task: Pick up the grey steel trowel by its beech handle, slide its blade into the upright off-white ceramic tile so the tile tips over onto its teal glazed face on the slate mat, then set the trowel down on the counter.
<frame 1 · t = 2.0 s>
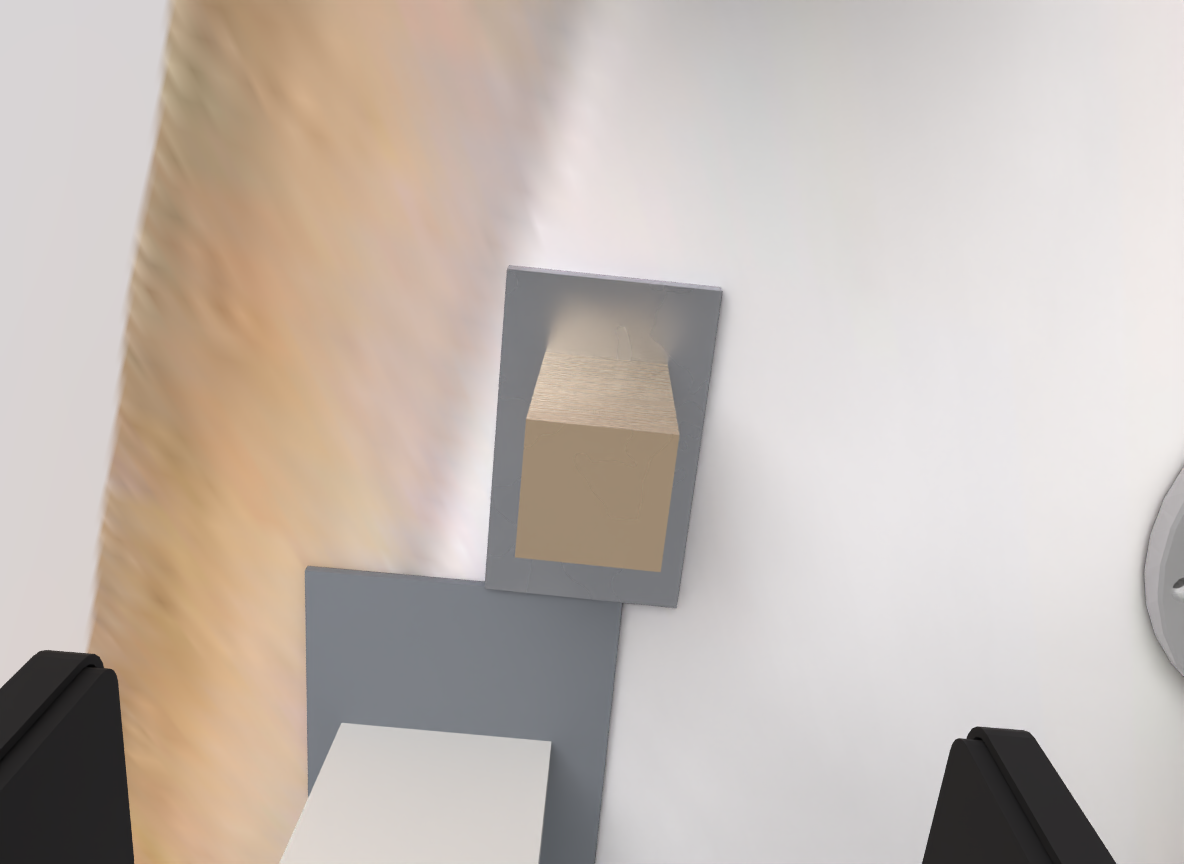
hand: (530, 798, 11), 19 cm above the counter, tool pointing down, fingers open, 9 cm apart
tile: (445, 752, 33), resting on mat
trowel: (600, 407, 29), on the counter
mat: (458, 738, 33), on the counter
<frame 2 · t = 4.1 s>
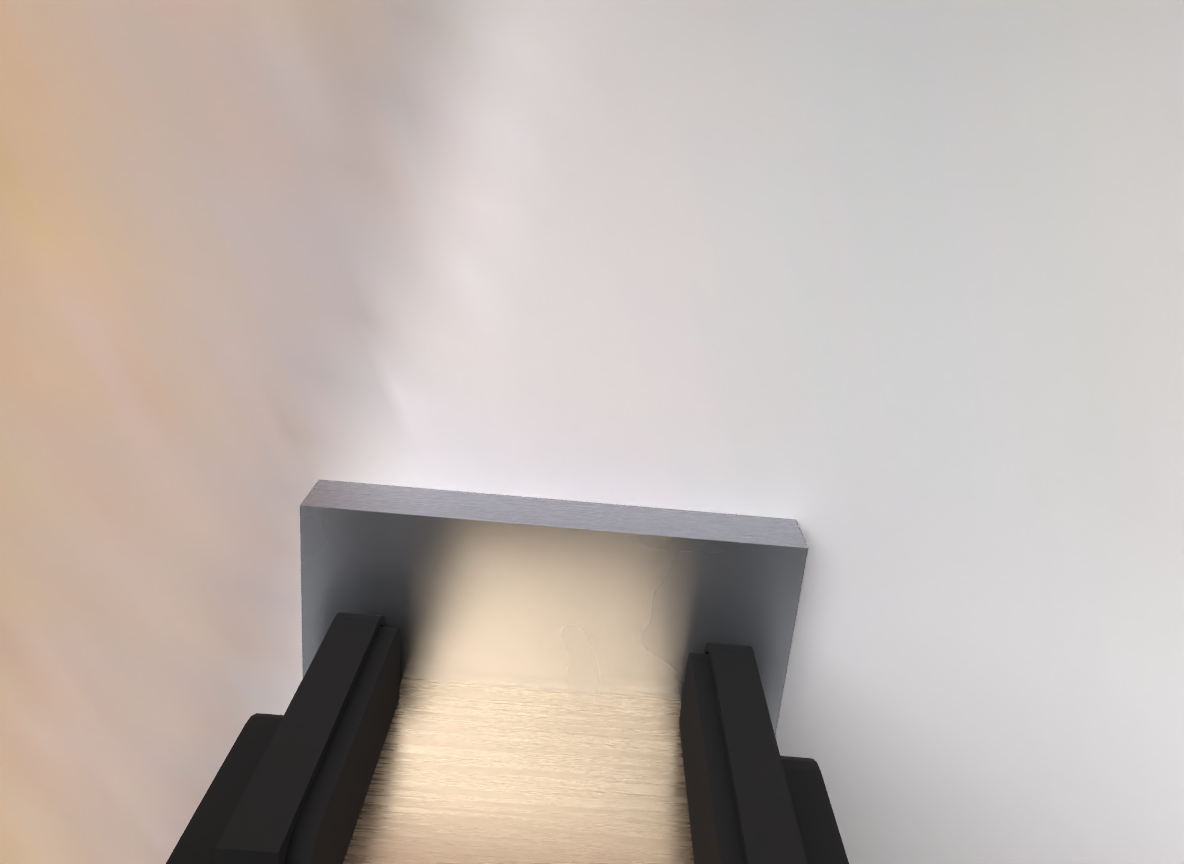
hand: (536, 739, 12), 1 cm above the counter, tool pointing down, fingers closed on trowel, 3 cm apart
trowel: (537, 763, 14), on the counter, touching gripper
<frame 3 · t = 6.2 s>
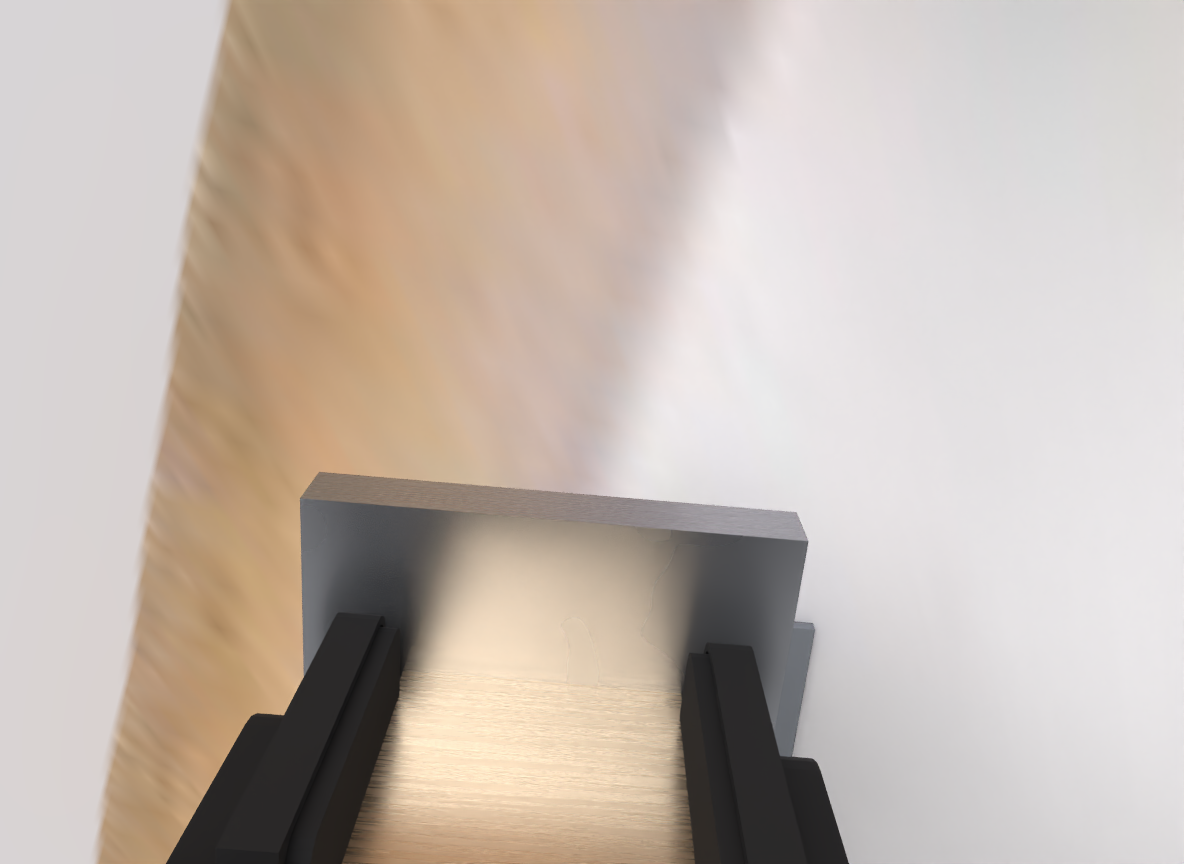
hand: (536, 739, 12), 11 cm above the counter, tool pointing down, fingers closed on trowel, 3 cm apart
trowel: (537, 754, 14), point 10 cm above the counter, touching gripper
mat: (589, 802, 26), on the counter
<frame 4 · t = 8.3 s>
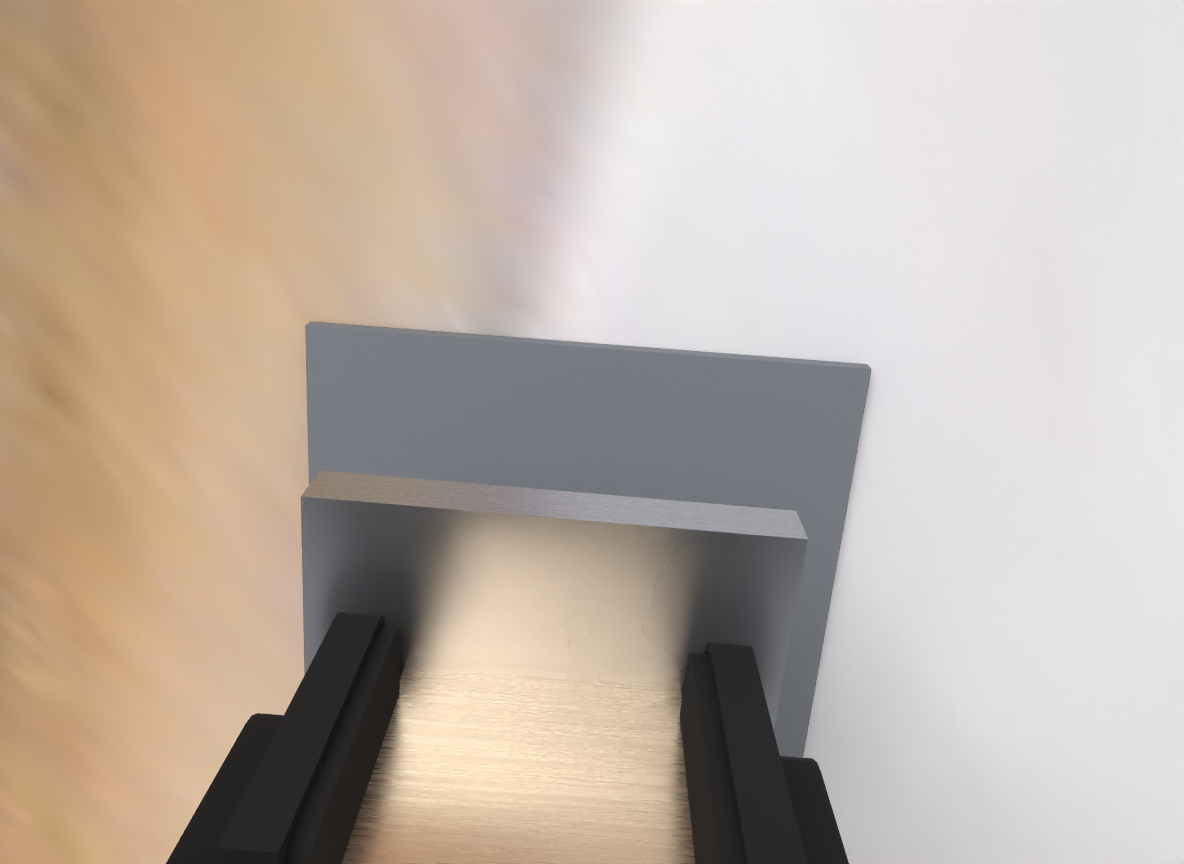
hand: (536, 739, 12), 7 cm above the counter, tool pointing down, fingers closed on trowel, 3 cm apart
trowel: (538, 752, 14), point 6 cm above the counter, touching gripper
mat: (567, 634, 20), on the counter
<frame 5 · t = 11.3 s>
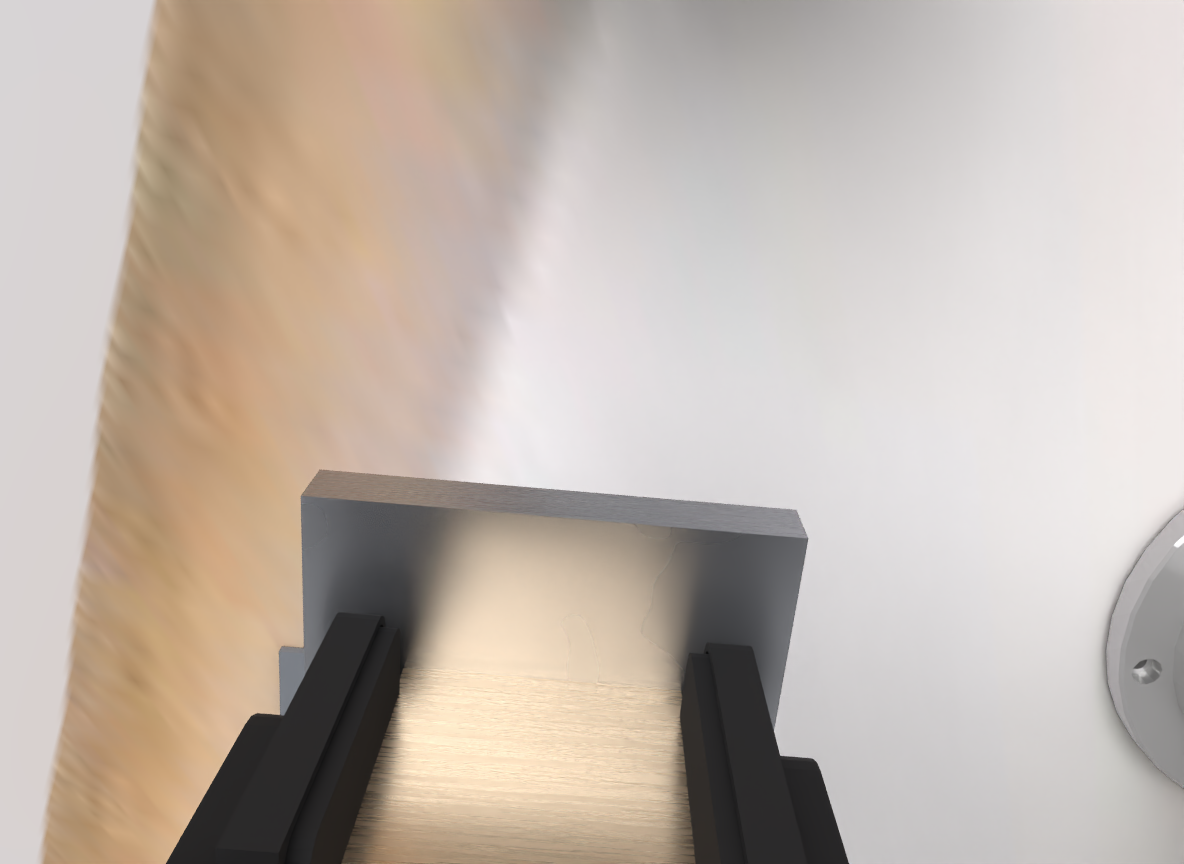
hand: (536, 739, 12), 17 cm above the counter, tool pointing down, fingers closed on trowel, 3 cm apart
trowel: (538, 751, 14), point 16 cm above the counter, touching gripper
mat: (432, 811, 33), on the counter
when the fingers open (3 cm above the counter, at t = 13.7 s): trowel drops 2 cm, on the counter.
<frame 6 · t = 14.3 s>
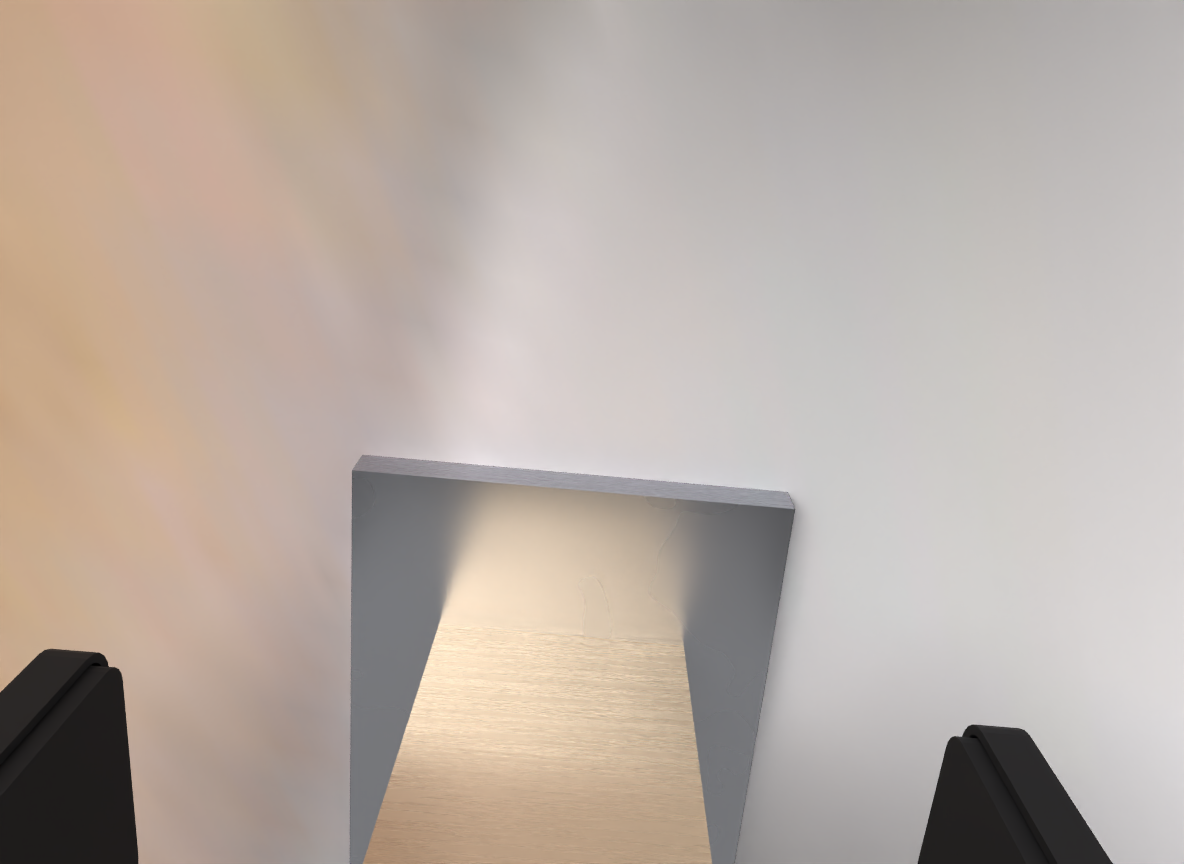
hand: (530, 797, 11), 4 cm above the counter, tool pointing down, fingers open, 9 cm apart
trowel: (555, 705, 15), on the counter
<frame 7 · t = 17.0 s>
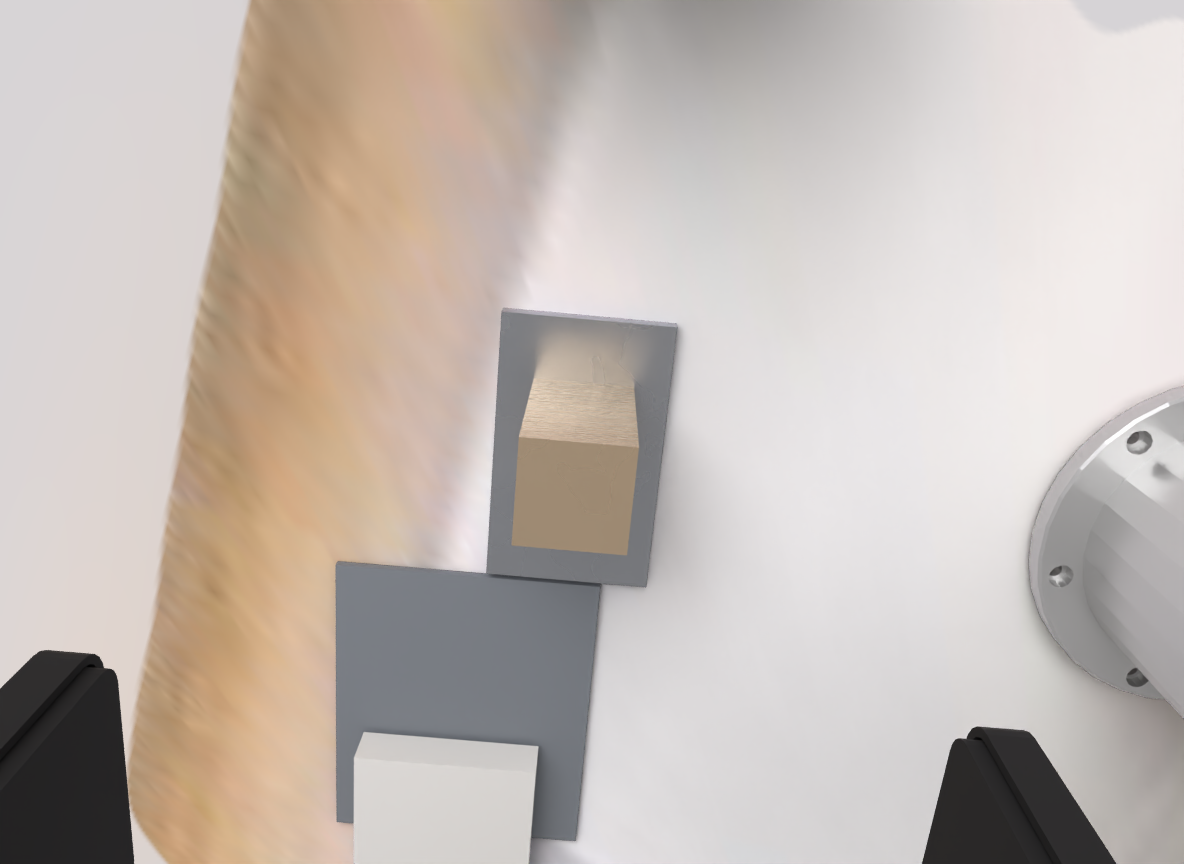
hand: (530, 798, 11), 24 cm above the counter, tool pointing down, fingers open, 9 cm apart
tile: (448, 751, 38), point 1 cm above the counter, tilted 90°, touching mat
trowel: (580, 422, 35), on the counter
mat: (462, 705, 39), on the counter
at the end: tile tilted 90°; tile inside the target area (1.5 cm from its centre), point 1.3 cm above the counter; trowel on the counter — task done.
